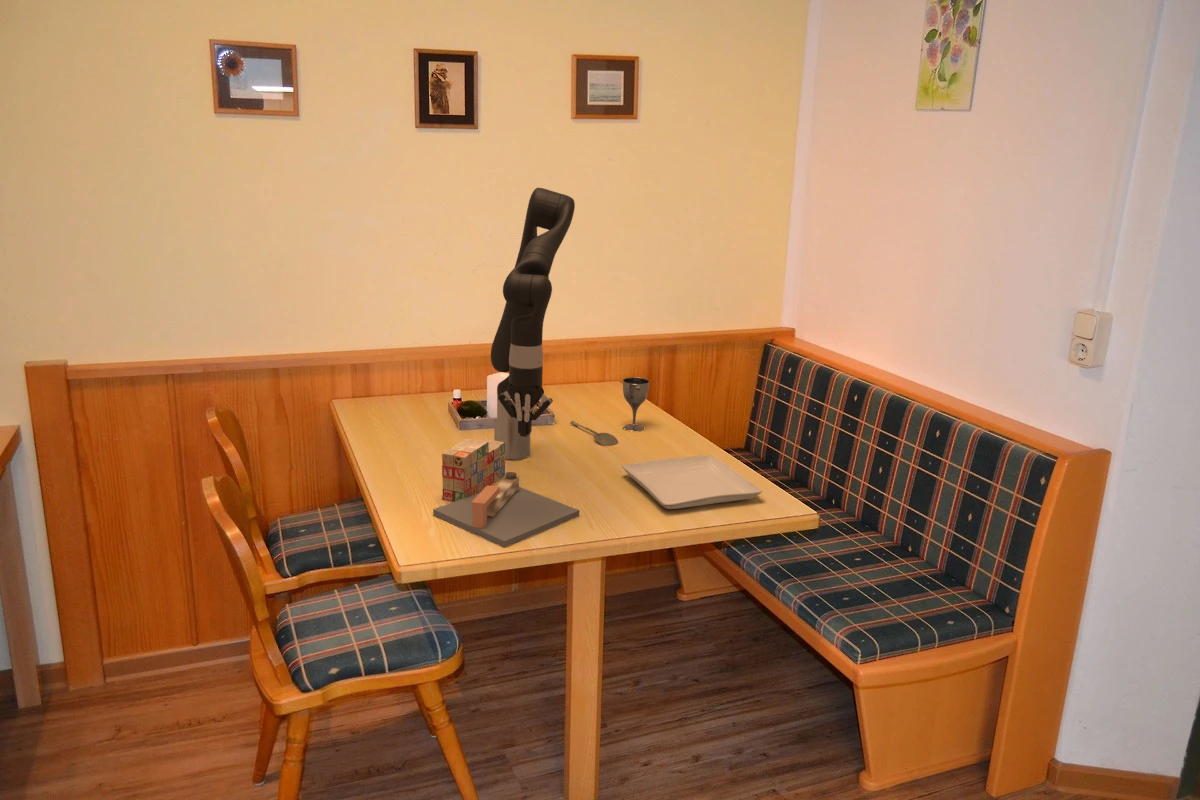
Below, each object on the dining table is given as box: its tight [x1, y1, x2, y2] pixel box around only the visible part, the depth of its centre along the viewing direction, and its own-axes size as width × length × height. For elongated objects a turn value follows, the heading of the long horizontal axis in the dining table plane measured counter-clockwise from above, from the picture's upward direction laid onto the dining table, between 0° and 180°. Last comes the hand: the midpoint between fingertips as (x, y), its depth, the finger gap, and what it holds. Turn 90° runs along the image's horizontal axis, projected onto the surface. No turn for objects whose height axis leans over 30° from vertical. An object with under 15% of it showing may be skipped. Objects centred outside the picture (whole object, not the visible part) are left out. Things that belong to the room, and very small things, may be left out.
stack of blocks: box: [441, 438, 506, 503], centre depth 230 cm, size 21×6×12 cm, turn 159°
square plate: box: [621, 454, 763, 510], centre depth 236 cm, size 27×27×4 cm
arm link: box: [487, 471, 520, 517], centre depth 219 cm, size 19×4×4 cm, turn 167°
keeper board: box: [432, 485, 580, 548], centre depth 215 cm, size 24×24×8 cm
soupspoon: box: [569, 420, 619, 447], centre depth 274 cm, size 22×3×7 cm
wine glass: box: [622, 376, 650, 432], centre depth 280 cm, size 8×8×15 cm
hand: (524, 435), depth 212 cm, fingers closed
